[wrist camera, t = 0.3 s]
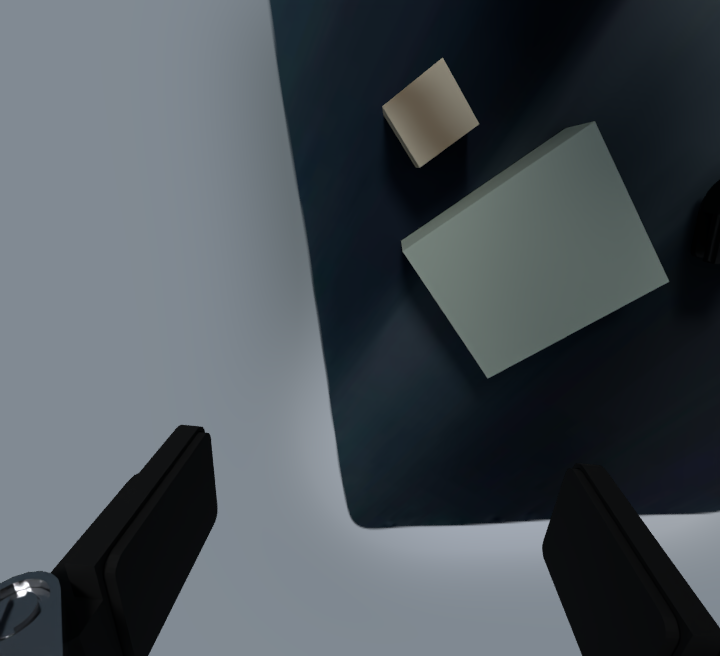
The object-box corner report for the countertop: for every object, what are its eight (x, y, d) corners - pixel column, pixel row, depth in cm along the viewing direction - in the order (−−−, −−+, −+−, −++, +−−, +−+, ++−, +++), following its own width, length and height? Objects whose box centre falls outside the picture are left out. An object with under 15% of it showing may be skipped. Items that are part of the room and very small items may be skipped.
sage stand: (565, 128, 32) (594, 121, 28) (633, 267, 36) (669, 281, 31) (401, 240, 37) (402, 251, 32) (476, 354, 40) (487, 378, 36)
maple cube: (435, 74, 32) (442, 57, 27) (466, 130, 33) (479, 124, 28) (383, 115, 33) (382, 106, 28) (416, 168, 34) (419, 167, 30)
